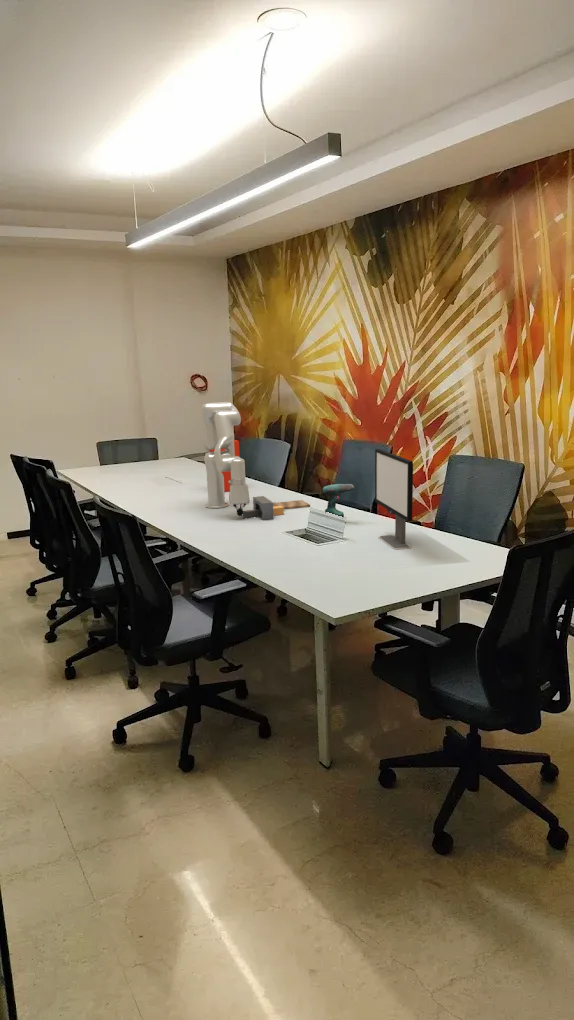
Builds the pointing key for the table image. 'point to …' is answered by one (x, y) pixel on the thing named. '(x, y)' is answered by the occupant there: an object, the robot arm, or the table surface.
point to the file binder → (228, 473)
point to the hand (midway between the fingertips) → (239, 515)
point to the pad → (292, 504)
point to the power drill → (335, 496)
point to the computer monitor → (394, 493)
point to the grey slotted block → (263, 507)
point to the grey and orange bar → (256, 513)
